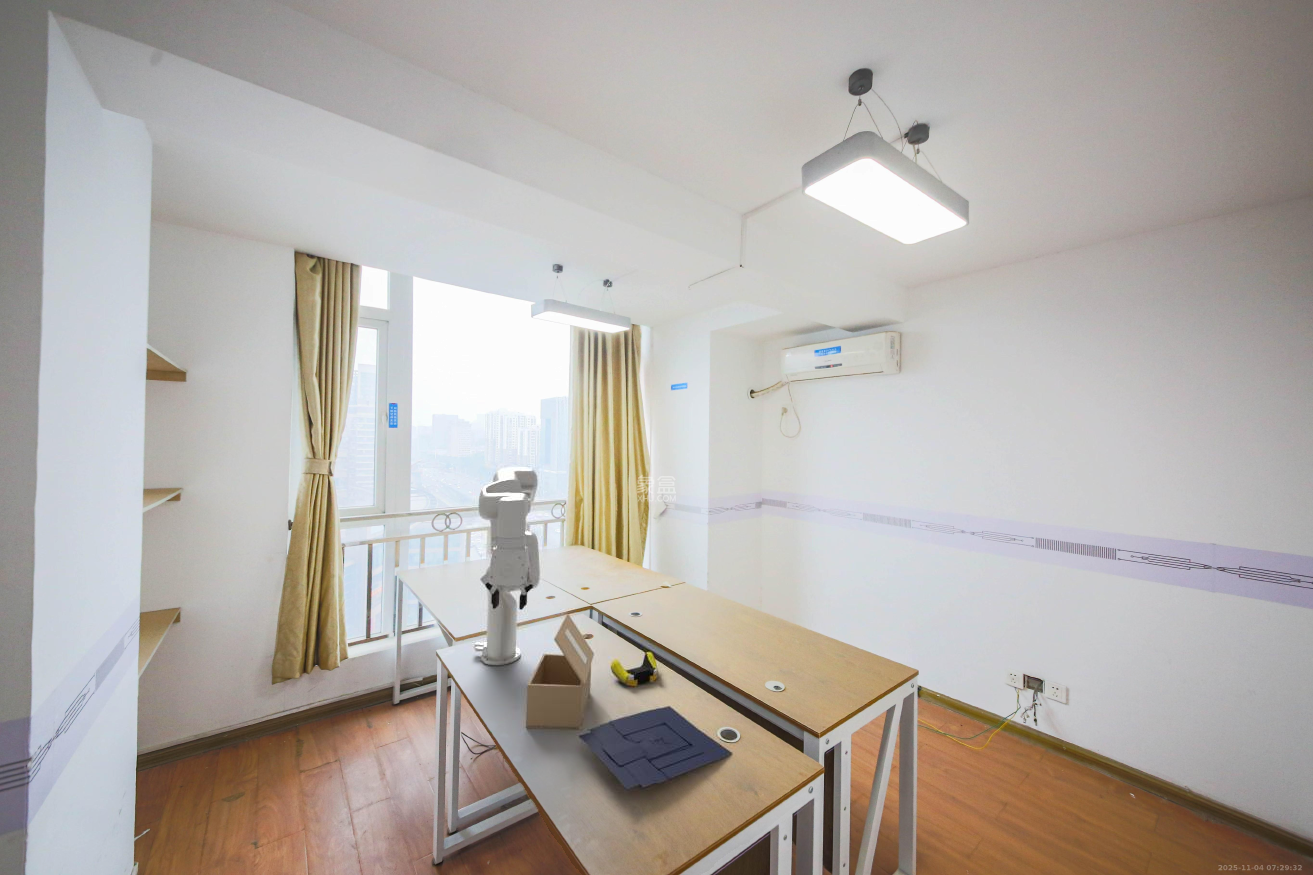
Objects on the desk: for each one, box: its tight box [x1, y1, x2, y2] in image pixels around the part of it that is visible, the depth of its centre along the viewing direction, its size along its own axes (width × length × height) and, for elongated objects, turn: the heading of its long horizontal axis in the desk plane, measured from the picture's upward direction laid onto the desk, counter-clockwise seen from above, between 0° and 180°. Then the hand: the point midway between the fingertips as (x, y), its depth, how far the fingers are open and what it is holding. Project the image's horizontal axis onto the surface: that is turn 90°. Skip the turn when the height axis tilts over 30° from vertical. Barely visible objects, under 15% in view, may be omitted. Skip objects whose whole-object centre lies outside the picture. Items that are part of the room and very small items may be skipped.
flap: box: [553, 613, 595, 685], centre depth 127 cm, size 14×17×1 cm
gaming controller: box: [610, 651, 659, 687], centre depth 145 cm, size 15×6×10 cm
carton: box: [525, 653, 592, 731], centre depth 127 cm, size 14×17×11 cm
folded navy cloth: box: [578, 705, 733, 790], centre depth 111 cm, size 24×30×4 cm
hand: (509, 606), depth 127 cm, fingers open, 6 cm apart
